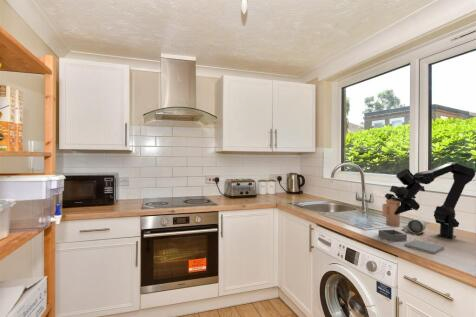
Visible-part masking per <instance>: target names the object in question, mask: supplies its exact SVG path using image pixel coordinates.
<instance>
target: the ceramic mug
mask: <svg viewBox="0 0 476 317" xmlns="http://www.w3.org/2000/svg"><path fill="white" fill-rule="evenodd" d="M426 227H427V225H426V222H425V221H424V220H423V219H420V218H414V219H411V220H409V221H408V222H407V225H406V226H403V227H402V229H403V231H410V232H411V233H412V234H421V233H423V232H424V231H425V229H426Z"/></svg>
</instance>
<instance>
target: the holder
mask: <svg viewBox="0 0 476 317" xmlns="http://www.w3.org/2000/svg"><path fill="white" fill-rule="evenodd" d="M378 236H379V237H381V238H383V239H385V240H386V241H387V240H388V241H390V242H402V241H403V242H406V241H407V240H408V234H406V233H404V232H402V231H399V230H396V229H378Z"/></svg>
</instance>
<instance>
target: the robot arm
mask: <svg viewBox="0 0 476 317" xmlns="http://www.w3.org/2000/svg"><path fill="white" fill-rule="evenodd" d="M448 173H451V174H452V179H453V182H452V185H451V187H450V189H449V191H448V194H447V195H446V198H445V199H444V201H443V204H442V205H441V206H439V205H437V206H436V207H435V209H434V211H433V213H434V214H433V217H434V220H435V223H436V224H439V233H438V234H437V235H436V236H437V237H441V238H446V239H451V240H452V239H454V238H456V237H457V236H456V235H454V232H455V231H454V228H458V227H459V225H460V222H459V221H458V220H457V218H455V217H456V211H455V208H456V205H457V203H458V201H459V200H460V197H461V196H462V194H463V190H464V189H465V186H467V185H468V184H469V183H470V182H472V180H473V179H474V178H475V176H476V171H475V170H474V168H472V167H468V166H464V165H462V164H460V163H458V162H451V161H449V162H446V163H445V164H443V165H439V166H437V167H435V168H433V169H430V170H425V171H418V172H416V173H414V174H413V173H412V172H411V170H410V169H409V168H405V169H404V170H400V171H398V173H396V175H395V177H396V178H397V180H398V181H399V182H400V183H401V184H402V185H403V186H395V185H391V187H390V189H389V192H391V193H386V194H384V198H385V200H388V199H391V200H399V201H401V203H400V206H399V207H398V209H397V210H396V211H395V213H394V214H395V215H397V214H400V215H401V214H403V213H406V212H409V211H413V210H414V211H418V210H419V209H420V208H421V207H420V205H421V204H419V202H418V201H416V198H417V197H416V195H417V194H418V193H419V192H425V190H426V189H425V185H429V184H431V183H432V182H434V181H435V179H436V178H438V177H441V176H444V175H446V174H448ZM392 193H393V194H392Z"/></svg>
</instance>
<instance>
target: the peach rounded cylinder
mask: <svg viewBox="0 0 476 317" xmlns="http://www.w3.org/2000/svg"><path fill="white" fill-rule="evenodd" d="M385 202H386V203H382V209H381V210H382V212H381V214H382V217H385V219H386V221H385V226H387V227H391V228H399V227H400V219H401V218H400V217H401V216H400V215H401V213H400V214H397V215H395V214H394V213H395V211H396V210H397V209H398V207H399V206H400V205H401V201H399V200H391V199H388V200H387V199H385Z"/></svg>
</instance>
